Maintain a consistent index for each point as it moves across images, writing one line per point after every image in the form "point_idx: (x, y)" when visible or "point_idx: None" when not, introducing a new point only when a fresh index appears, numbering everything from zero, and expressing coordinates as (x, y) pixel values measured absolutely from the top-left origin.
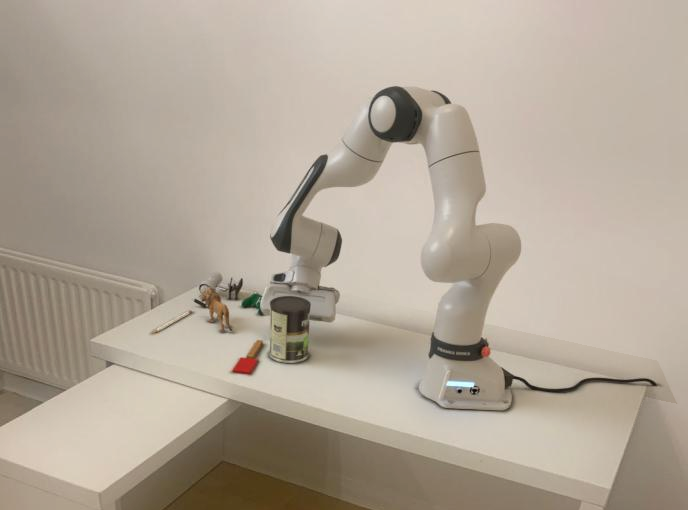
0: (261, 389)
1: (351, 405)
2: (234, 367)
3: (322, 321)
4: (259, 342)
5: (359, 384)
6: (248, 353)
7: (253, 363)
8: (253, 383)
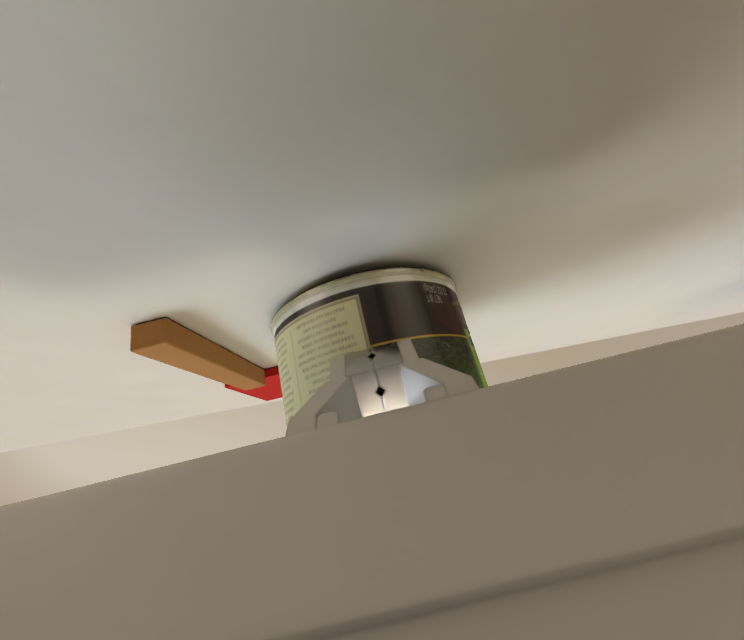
0: None
1: (552, 341)
2: (260, 398)
3: (670, 345)
4: (179, 356)
5: (608, 302)
6: (236, 387)
7: None
8: None
